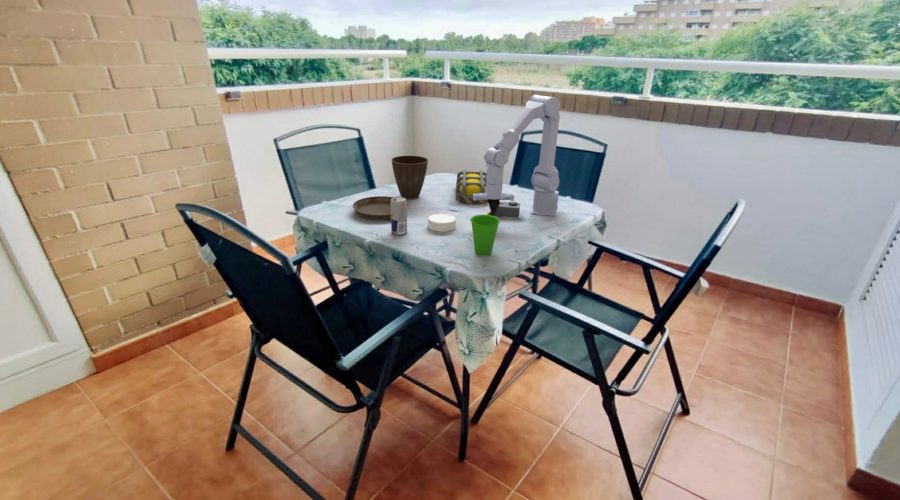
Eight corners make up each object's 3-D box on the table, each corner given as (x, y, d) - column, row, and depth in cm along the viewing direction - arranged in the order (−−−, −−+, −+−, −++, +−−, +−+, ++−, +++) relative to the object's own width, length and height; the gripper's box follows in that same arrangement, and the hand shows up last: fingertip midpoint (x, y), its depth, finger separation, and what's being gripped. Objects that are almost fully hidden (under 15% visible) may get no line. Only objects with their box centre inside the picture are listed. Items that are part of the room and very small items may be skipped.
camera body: (519, 212, 169) (520, 201, 167) (518, 219, 163) (519, 207, 161) (494, 210, 171) (495, 199, 169) (492, 216, 164) (493, 205, 162)
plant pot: (413, 189, 194) (412, 153, 187) (435, 197, 184) (435, 160, 177) (385, 195, 184) (384, 158, 178) (407, 204, 175) (406, 165, 168)
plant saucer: (418, 212, 167) (418, 204, 166) (376, 226, 153) (376, 218, 152) (383, 200, 180) (383, 192, 178) (342, 212, 166) (341, 204, 164)
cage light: (455, 186, 173) (457, 167, 200) (454, 205, 177) (456, 184, 204) (492, 187, 173) (488, 168, 200) (490, 206, 176) (487, 185, 203)
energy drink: (392, 229, 151) (391, 196, 146) (408, 229, 151) (407, 196, 146) (390, 235, 146) (389, 201, 141) (406, 235, 146) (405, 202, 141)
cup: (464, 255, 133) (466, 222, 128) (473, 244, 141) (475, 212, 136) (493, 260, 130) (495, 227, 125) (500, 249, 138) (503, 216, 133)
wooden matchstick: (487, 223, 156) (487, 214, 155) (484, 222, 157) (485, 214, 155) (495, 214, 165) (496, 206, 163) (493, 214, 165) (493, 206, 164)
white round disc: (453, 221, 160) (453, 212, 158) (458, 231, 151) (458, 222, 149) (426, 222, 158) (426, 213, 156) (429, 233, 149) (429, 223, 147)
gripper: (512, 179, 156) (509, 215, 162) (472, 179, 155) (471, 214, 161) (516, 185, 150) (513, 221, 155) (474, 184, 149) (473, 221, 155)
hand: (492, 218), depth 158 cm, fingers closed, pressing on wooden matchstick
